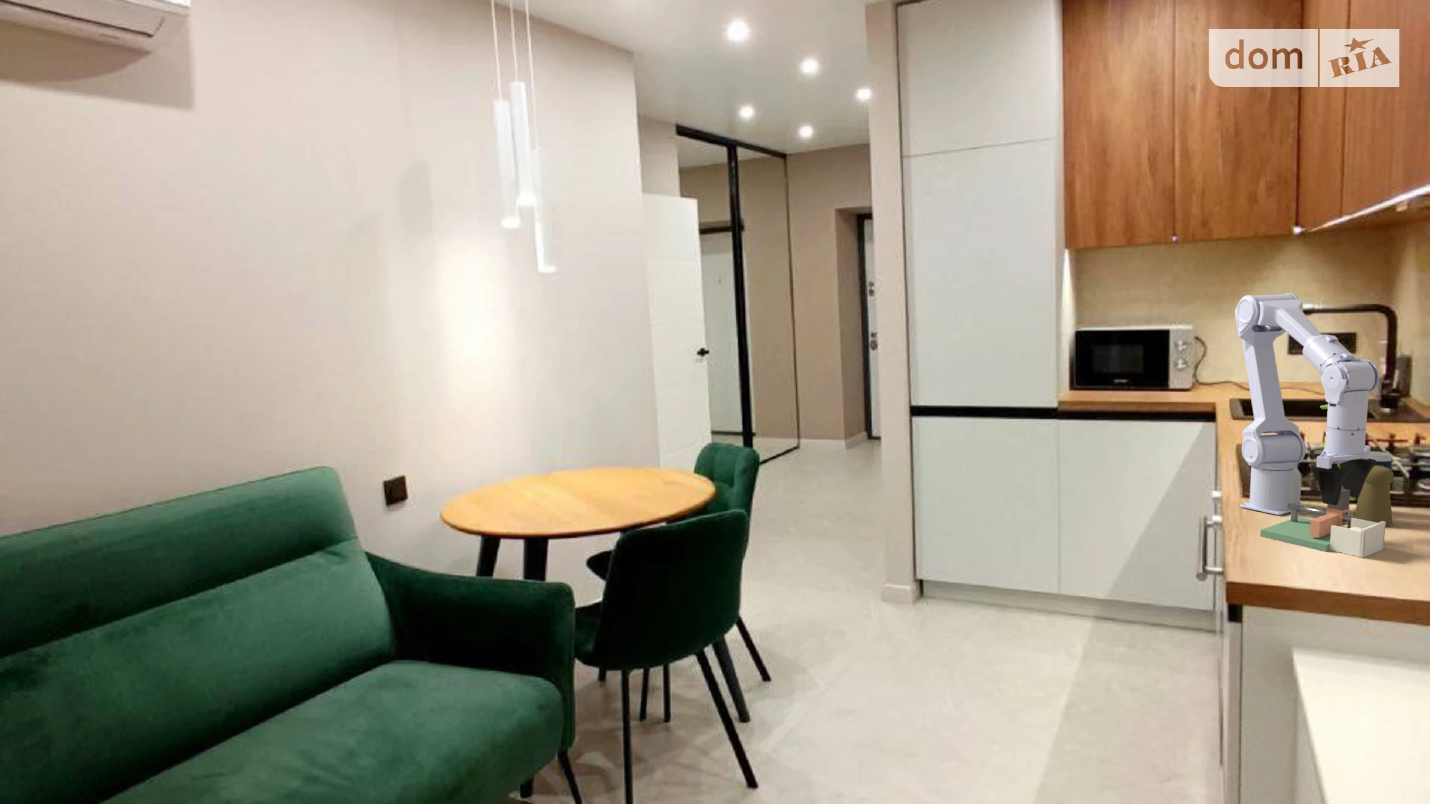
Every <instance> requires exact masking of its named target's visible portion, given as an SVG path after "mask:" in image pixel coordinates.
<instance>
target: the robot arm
mask: <svg viewBox="0 0 1430 804" xmlns="http://www.w3.org/2000/svg"><path fill="white" fill-rule="evenodd" d="M1235 307H1236V308H1235V310H1234V316H1235V322H1236V323H1235V324H1236V329H1237V334H1238V335H1237V336H1238V338H1240V339H1241V344H1242V349H1243V350H1242V351H1243V356H1244V362H1245V369H1246V374H1247V381H1248V387H1249V388H1248V389H1249V394H1250V400H1251V401H1250V402H1251V407H1252V413H1253V419H1254V420H1253V421H1252V422H1251V423H1250V424H1249V425H1248V426H1247V427H1245V428H1244V429H1243V430H1242V444H1241V454H1242V457H1243V459H1244V460H1245V462H1246V463H1247V465H1248V466H1250V467H1251V468H1250V488H1249V501H1248V502H1245V503H1244V502H1243V503H1240V504H1239V507H1241V508H1244V509H1249V510H1254V511H1259V512H1263V513H1267V514H1272V515H1277V516H1282V515H1285V514H1288V513H1291V510H1290V509H1288V504H1289V503H1292V504H1297V505H1302V506H1306V505H1305V504H1302V503H1301V492H1302V491H1301V490H1302V475H1301V472H1300V470H1299V469H1298V465H1299V463H1301V462H1303V460H1304V459H1305V455H1306V454H1307V453H1306V452H1307V448H1306V447H1307V446H1306V443H1305V441H1304V440H1303V438H1302V436H1301V433H1300V428H1299V426H1298V425H1297V424H1295V423H1294V422H1292V421H1290V420H1289V419H1288V418H1287V417H1286V415H1285V410H1284V403H1283V397H1282V390H1281V385H1280V378H1279V373H1278V366H1277V361H1276V355H1275V350H1274V349H1275V348H1274V342H1275V341H1276V339H1277V338H1278V337H1280V336H1283V335H1284V334H1285V332H1286V333H1287V334H1288V335H1289V336H1291V337H1292V338H1293V339H1294V340H1295V341H1296V342H1298V344H1300V345H1301V346H1303V348H1302V355H1303V358H1305V359H1306V360H1307V361H1308V362H1309V363H1310V364H1311V365H1312V366H1313V367H1314V368H1315V370H1317V371H1318V373H1319V374H1320V375H1321V376H1320V381H1321V385H1322V387H1323V390H1324V399H1325V402H1327V405H1328V409H1327V412H1326V413H1327V414H1326V415H1327V416H1326V429H1325V436H1326V441H1325V449H1324V448H1323V450H1322V452H1321V454H1320V455H1317V457H1316V462H1314V463H1311V464H1310V468H1309V469H1310V471H1311V473H1312V474H1313V476H1314V477H1315V479H1316V482H1317V485H1318V489H1319V494H1320V498H1321V501H1322V504H1326V505H1328V504H1330V505H1337V504H1338V502H1339V499H1340V494H1341V489H1342V486H1343V489H1348V490H1350V497H1355V499H1356V498H1357V499H1358V498H1359V495H1360V493H1361V490H1362V488H1363V485H1364V482H1365V480H1366V478H1367V476H1368V474H1369V472H1370V471H1371V469H1372V468H1373V467H1374V466H1375V465H1376V460H1375V459H1370V458H1372V454H1370V451H1371V445H1366V435H1367V422H1368V421H1367V420H1368V409H1369V408H1368V406H1369V394H1370V393H1371V392H1372V391H1374V390H1375V389H1376V388H1377V387H1378V384H1379V381H1380V380H1379V379H1380V375H1379V371H1378V367H1377V366H1376V365H1375V364H1374V362H1373V361H1372V360H1369V359H1361V358H1360V357H1355V356H1354V354H1353V353H1352V352H1350V351H1349V350H1348V349H1347V348H1346V347H1345V346H1344V344H1342V343H1341V342H1339V339H1338V337H1337V336H1336V335H1331V334H1322V333H1321V332H1320V331H1319V330H1318V328H1317V327H1316V326H1315V325H1314V324H1313V322H1312V321H1311V320H1310V319H1309V318H1308V316H1307V315H1306V314H1305V313H1304V303H1303V301H1302V300H1300V299H1299V297H1298V296H1297V295H1296V294H1295V293H1292V292H1287V293H1282V294H1281V293H1280V294H1262V295H1259V294H1258V295H1251V294H1248V295H1243V296H1242V298H1240V300H1239V302H1238V303H1237V305H1236V306H1235ZM1262 434H1263V435H1262ZM1338 464H1339V465H1340V467H1338ZM1340 468H1341V469H1340Z"/></svg>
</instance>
